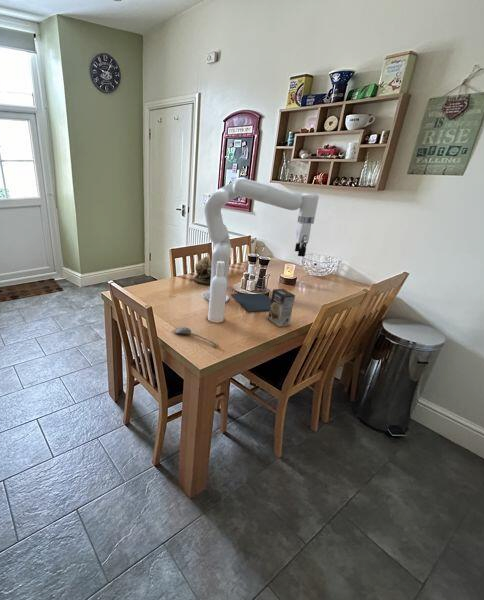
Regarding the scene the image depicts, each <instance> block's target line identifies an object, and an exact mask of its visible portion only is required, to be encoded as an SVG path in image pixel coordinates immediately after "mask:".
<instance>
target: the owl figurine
mask: <svg viewBox="0 0 484 600" xmlns="http://www.w3.org/2000/svg"><path fill="white" fill-rule="evenodd" d="M211 268H212V260H210V258H209V257H208V256H207V255H206V256H204V257H203V258H200V259H199V260H198V261H197V263H196V264H195V268H194V269H195V273H196V274H197V275H195V276H194V277H193V281H194V282H195V283H198V284H200V285H204V286H210V282H211Z"/></svg>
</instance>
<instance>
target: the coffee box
mask: <svg viewBox="0 0 484 600" xmlns="http://www.w3.org/2000/svg"><path fill="white" fill-rule="evenodd" d="M295 298H296V294H294V293H292V292H290V291H288V290H286V289H285V288H275V289H272V294H271V298H270V299H271V305H270V311H268V317H267V319H268V320H269V321H270V322H271V323H273V324H274V325H276V327H286V326H290V323H291V318H292V312H293V308H294V304H295V303H294V302H295Z"/></svg>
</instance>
